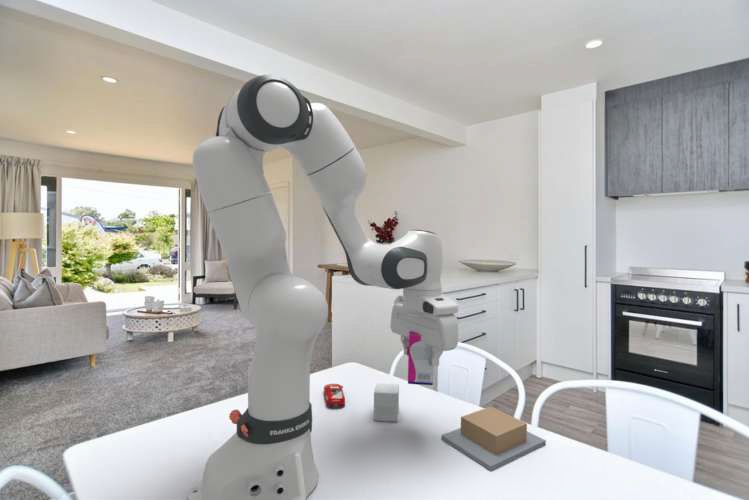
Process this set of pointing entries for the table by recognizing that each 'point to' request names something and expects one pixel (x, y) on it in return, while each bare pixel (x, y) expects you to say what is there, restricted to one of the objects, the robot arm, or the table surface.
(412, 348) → the supplement box
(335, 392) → the race car
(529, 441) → the build base
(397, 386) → the product box
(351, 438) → the table surface
